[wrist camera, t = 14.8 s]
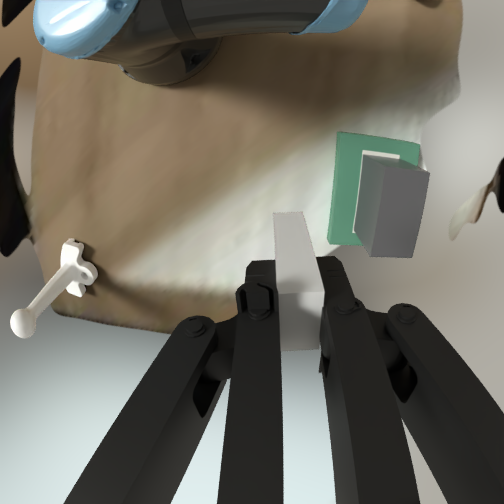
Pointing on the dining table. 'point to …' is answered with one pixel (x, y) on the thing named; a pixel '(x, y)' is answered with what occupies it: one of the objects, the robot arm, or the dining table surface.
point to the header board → (358, 178)
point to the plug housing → (390, 206)
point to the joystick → (56, 287)
